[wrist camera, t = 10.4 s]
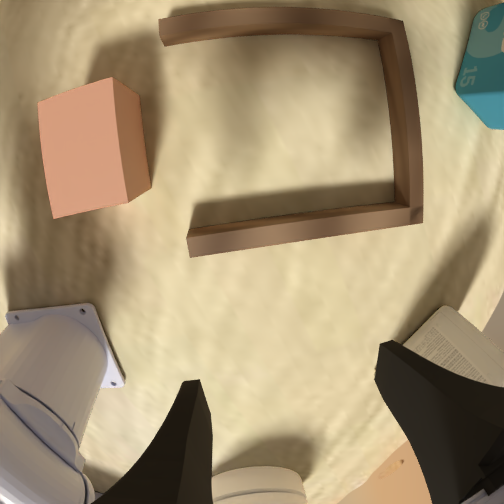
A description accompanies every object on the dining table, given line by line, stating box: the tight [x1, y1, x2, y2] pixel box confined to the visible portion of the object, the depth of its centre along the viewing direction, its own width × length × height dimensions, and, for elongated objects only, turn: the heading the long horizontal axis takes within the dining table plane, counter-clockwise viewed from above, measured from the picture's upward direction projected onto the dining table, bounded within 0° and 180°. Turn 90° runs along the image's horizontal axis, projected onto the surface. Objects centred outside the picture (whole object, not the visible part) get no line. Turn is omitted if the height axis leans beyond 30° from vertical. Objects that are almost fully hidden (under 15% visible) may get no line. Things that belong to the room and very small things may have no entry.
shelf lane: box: [158, 7, 423, 258], centre depth 17 cm, size 16×14×2 cm
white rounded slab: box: [374, 305, 504, 387], centre depth 19 cm, size 10×4×12 cm, turn 137°
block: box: [38, 77, 151, 219], centre depth 14 cm, size 4×6×6 cm
